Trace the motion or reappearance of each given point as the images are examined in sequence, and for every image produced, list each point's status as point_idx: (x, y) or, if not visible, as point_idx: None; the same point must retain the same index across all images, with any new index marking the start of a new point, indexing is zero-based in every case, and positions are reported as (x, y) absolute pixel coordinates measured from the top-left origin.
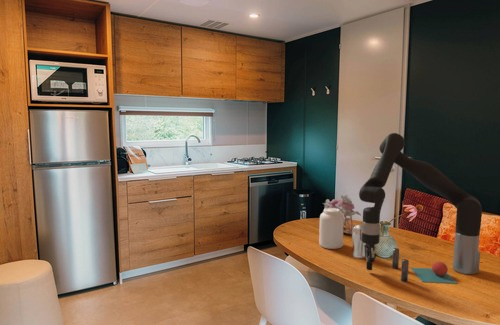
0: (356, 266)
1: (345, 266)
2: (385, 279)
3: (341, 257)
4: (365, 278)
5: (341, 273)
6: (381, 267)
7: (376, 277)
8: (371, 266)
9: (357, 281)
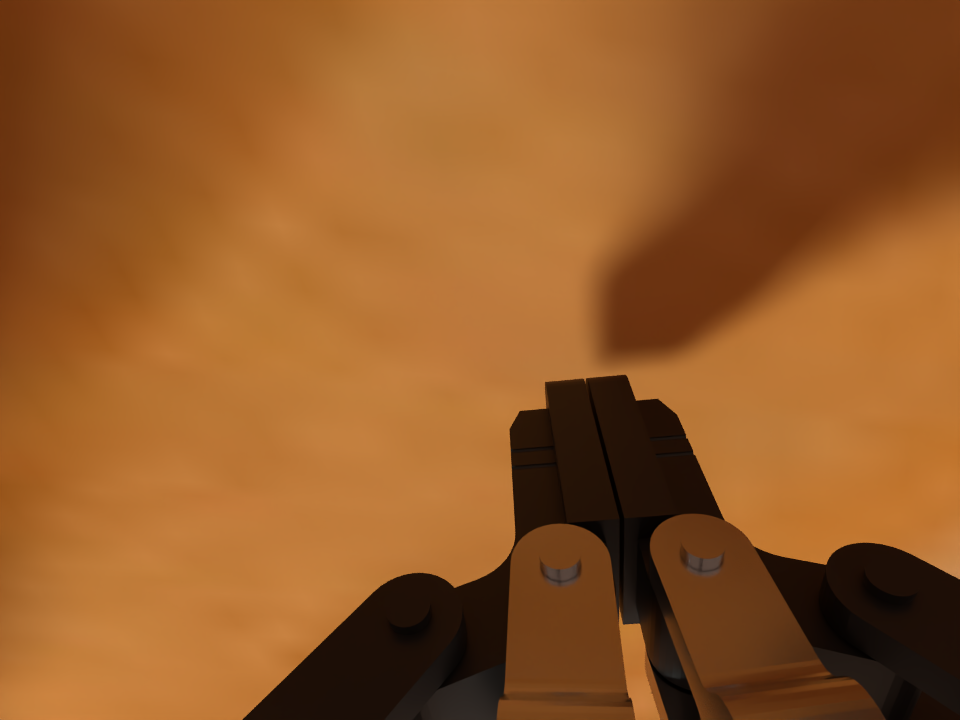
0: (331, 538)
1: None
2: (943, 51)
3: (50, 684)
4: (840, 450)
5: (652, 696)
6: (163, 52)
7: (809, 256)
8: (691, 455)
9: (941, 557)
